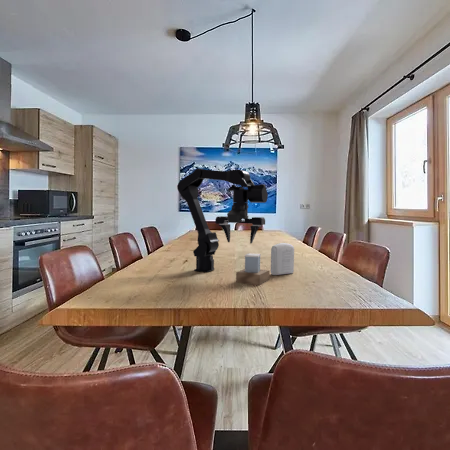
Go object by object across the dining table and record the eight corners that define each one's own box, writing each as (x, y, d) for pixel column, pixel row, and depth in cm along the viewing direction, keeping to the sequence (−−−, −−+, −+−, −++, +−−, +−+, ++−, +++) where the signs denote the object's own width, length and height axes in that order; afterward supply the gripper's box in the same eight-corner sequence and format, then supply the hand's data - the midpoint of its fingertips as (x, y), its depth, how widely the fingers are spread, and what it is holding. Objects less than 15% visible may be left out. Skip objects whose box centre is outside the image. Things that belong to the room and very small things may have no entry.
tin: (244, 272, 120) (244, 255, 119) (247, 269, 124) (247, 253, 124) (257, 272, 118) (258, 255, 118) (260, 270, 123) (260, 254, 123)
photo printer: (287, 271, 140) (288, 241, 139) (295, 273, 137) (296, 242, 136) (268, 274, 134) (269, 243, 134) (276, 276, 131) (276, 244, 130)
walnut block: (236, 283, 120) (236, 272, 120) (246, 278, 128) (246, 268, 127) (259, 286, 115) (259, 274, 115) (269, 281, 123) (269, 270, 123)
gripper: (209, 202, 127) (209, 243, 128) (257, 202, 120) (257, 246, 121) (221, 202, 137) (220, 240, 138) (265, 202, 131) (265, 243, 131)
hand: (239, 242), depth 132 cm, fingers open, 9 cm apart
